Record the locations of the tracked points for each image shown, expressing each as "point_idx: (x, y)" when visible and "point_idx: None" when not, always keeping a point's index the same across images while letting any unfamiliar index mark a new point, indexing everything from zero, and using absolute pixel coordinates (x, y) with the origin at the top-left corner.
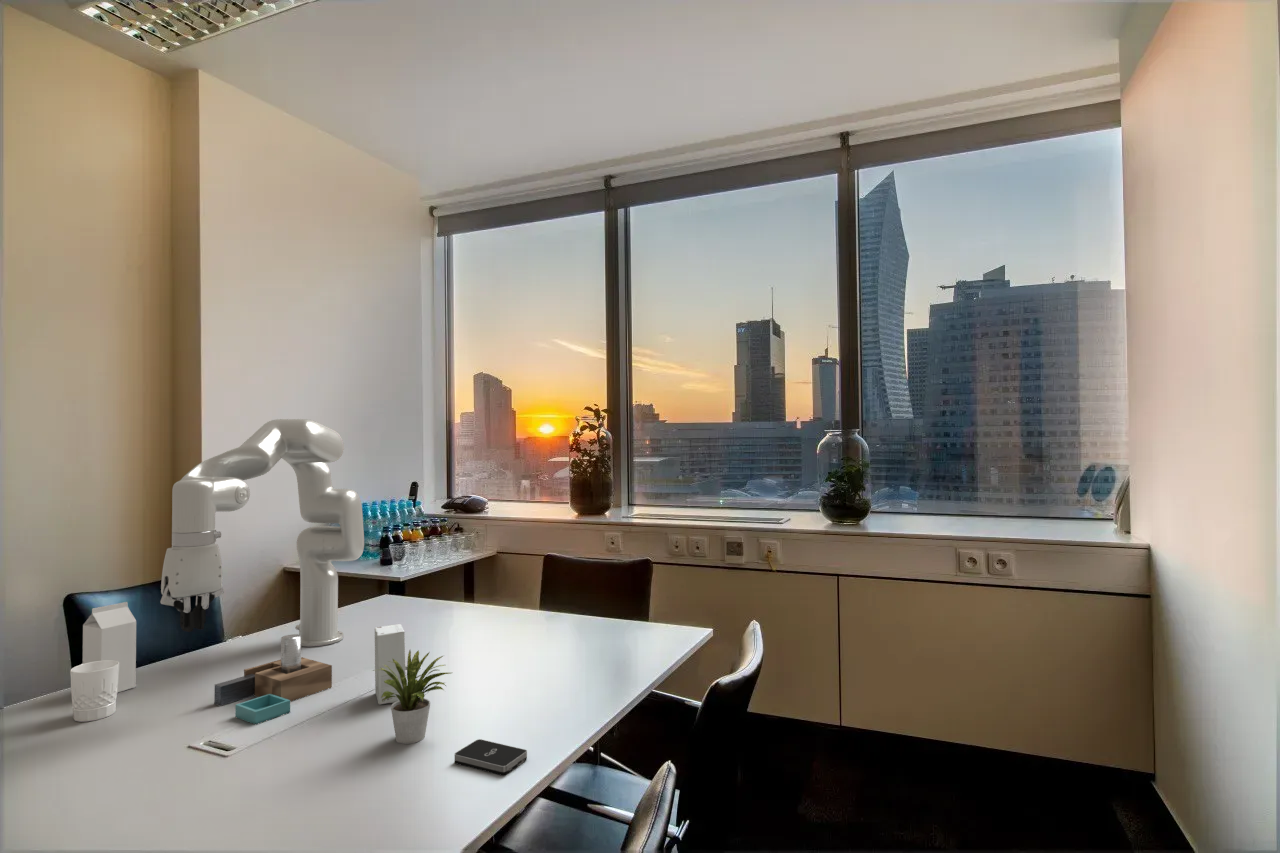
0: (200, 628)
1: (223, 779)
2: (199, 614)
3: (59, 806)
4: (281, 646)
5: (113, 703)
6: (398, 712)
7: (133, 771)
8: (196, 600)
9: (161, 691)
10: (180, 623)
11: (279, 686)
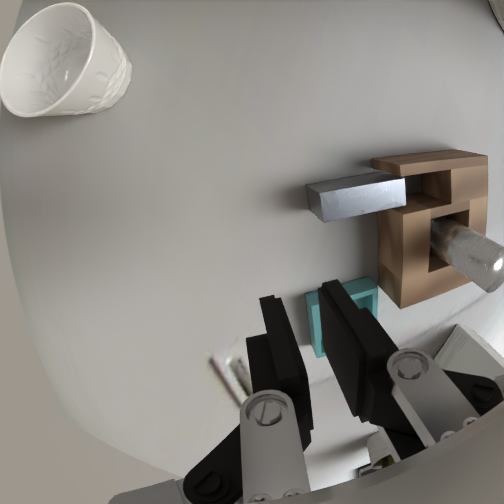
0: (325, 349)
1: None
2: (347, 399)
3: (87, 401)
4: (471, 261)
5: (116, 92)
6: (371, 466)
7: (142, 383)
8: (408, 406)
9: (242, 6)
10: (247, 348)
11: (394, 298)
